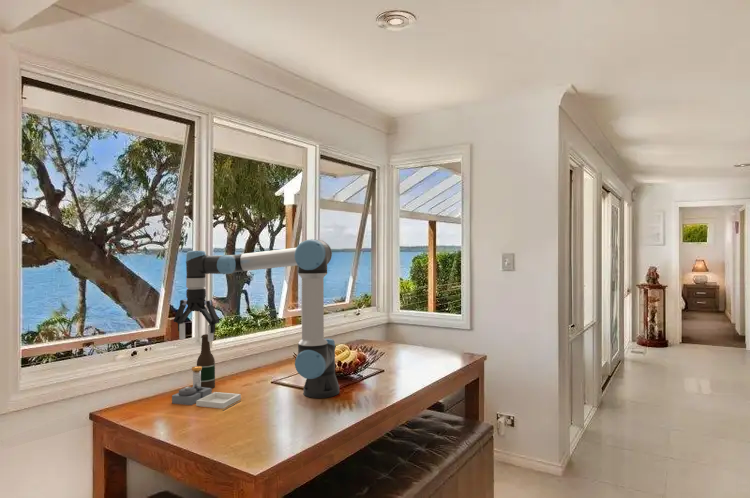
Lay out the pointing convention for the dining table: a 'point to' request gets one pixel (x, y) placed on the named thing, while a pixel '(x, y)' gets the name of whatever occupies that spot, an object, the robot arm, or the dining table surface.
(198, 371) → the lock pin
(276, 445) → the dining table surface
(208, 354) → the beer bottle
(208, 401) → the tray
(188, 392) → the block
